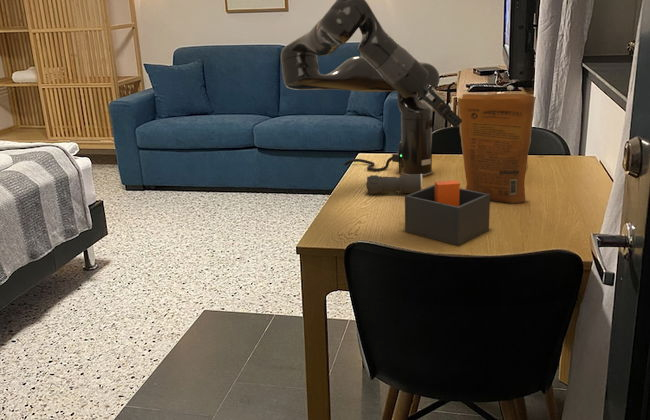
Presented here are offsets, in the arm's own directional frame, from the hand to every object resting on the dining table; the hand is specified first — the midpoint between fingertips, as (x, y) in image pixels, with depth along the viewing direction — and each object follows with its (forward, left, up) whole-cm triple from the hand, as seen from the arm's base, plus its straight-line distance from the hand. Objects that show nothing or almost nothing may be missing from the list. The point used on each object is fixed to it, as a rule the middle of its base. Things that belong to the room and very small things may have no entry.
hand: (454, 120), depth 145 cm
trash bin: (-1, -1, -26) cm, 26 cm away
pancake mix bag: (-5, +26, -26) cm, 37 cm away
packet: (-1, -1, -25) cm, 25 cm away
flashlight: (-29, +15, -26) cm, 42 cm away
